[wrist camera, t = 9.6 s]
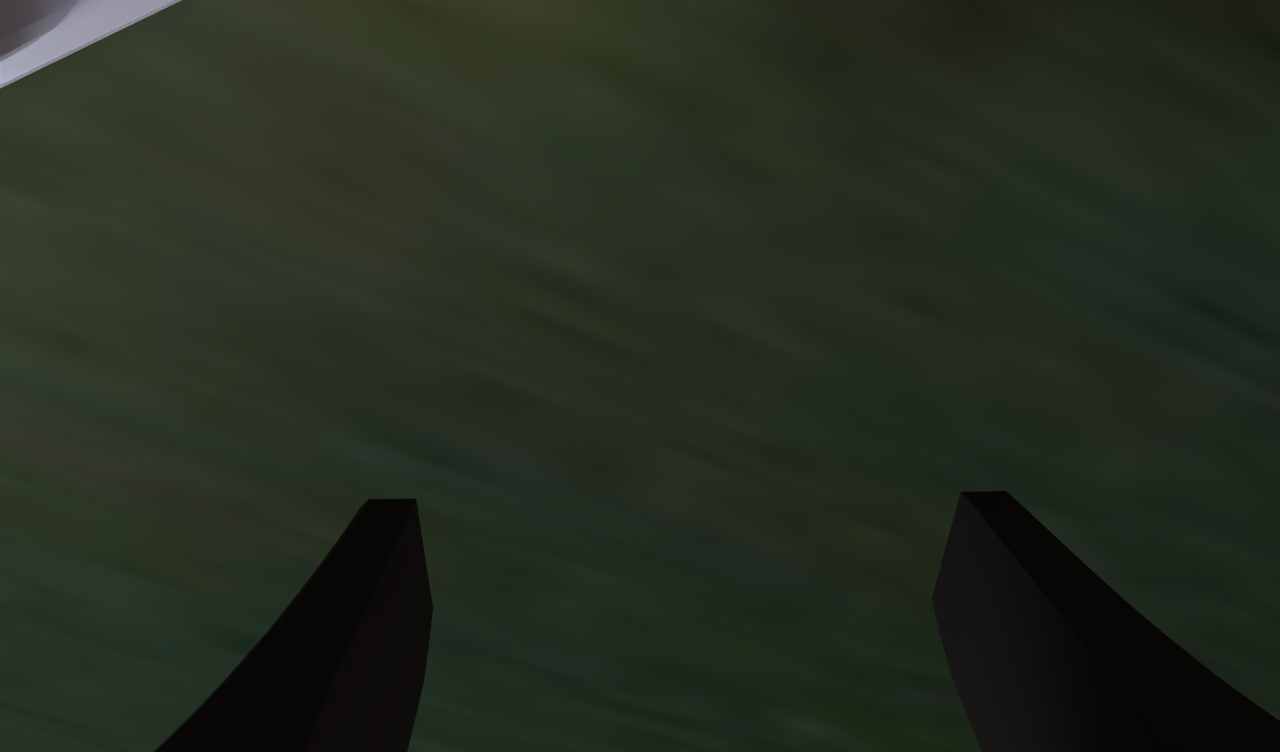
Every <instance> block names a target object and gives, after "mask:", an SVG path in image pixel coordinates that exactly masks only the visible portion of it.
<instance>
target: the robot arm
mask: <svg viewBox="0 0 1280 752" xmlns="http://www.w3.org/2000/svg"><path fill="white" fill-rule="evenodd" d="M179 1H181V0H0V88H2V87H4V86H6V85H8V84H10V83H12V82H14V81H16V80H19V79H21V78H23V77H25V76H27V75H29V74H31V73H33V72H35V71H37V70H39V69H41V68H43V67H45V66H47V65H49V64H51V63H54V62H56V61H58V60H60V59H62V58H64V57H66V56H68V55H70V54H72V53H74V52H76V51H78V50H80V49H82V48H84V47H86V46H88V45H91V44H93V43H95V42H97V41H99V40H101V39H103V38H105V37H107V36H109V35H111V34H113V33H115V32H117V31H119V30H121V29H123V28H126V27H128V26H130V25H132V24H134V23H136V22H138V21H140V20H142V19H144V18H146V17H148V16H150V15H152V14H154V13H156V12H158V11H161V10H163V9H165V8H167V7H169V6H171V5H173V4H175V3H177V2H179ZM932 602H933V606H934V611H935V615H936V619H937V623H938V627H939V631H940V635H941V639H942V643H943V647H944V650H945V654H946V658H947V661H948V665H949V669H950V672H951V674H952V677H953V679H954V682H955V685H956V687H957V690H958V692H959V695H960V697H961V700H962V703H963V705H964V708H965V710H966V713H967V715H968V718H969V720H970V723H971V725H972V728H973V730H974V733H975V735H976V738H977V740H978V743H979V745H980V748H981V750H982V752H1280V721H1279V720H1277V719H1276V718H1275V717H1273V716H1272V715H1270V714H1269V713H1268V712H1266V711H1265V710H1263V709H1262V708H1260V707H1259V706H1258V705H1256V704H1255V703H1253V702H1252V701H1251V700H1249V699H1248V698H1246V697H1245V696H1244V695H1242V694H1241V693H1239V692H1238V691H1237V690H1235V689H1234V688H1232V687H1231V686H1230V685H1228V684H1227V683H1226V682H1225V681H1223V680H1222V679H1221V678H1219V677H1218V676H1217V675H1215V674H1214V673H1213V672H1211V671H1210V670H1209V669H1207V668H1206V667H1205V666H1204V665H1202V664H1201V663H1200V662H1199V661H1197V660H1196V659H1195V658H1194V657H1192V656H1191V655H1190V654H1189V653H1187V652H1186V651H1185V650H1184V649H1182V648H1181V647H1180V646H1179V645H1178V644H1176V643H1175V642H1174V641H1173V640H1171V639H1170V638H1169V637H1168V636H1166V635H1165V634H1164V633H1163V632H1161V631H1160V630H1159V629H1158V628H1157V627H1156V626H1154V625H1153V624H1152V623H1151V622H1150V621H1148V620H1147V619H1146V618H1145V617H1144V616H1143V615H1141V614H1140V613H1139V612H1138V611H1137V610H1136V609H1134V608H1133V607H1132V606H1131V605H1130V604H1129V603H1128V602H1126V601H1125V600H1124V599H1123V598H1122V597H1121V596H1120V595H1118V594H1117V593H1116V592H1115V591H1114V590H1113V589H1112V588H1111V587H1110V586H1108V585H1107V584H1106V583H1105V582H1104V581H1103V580H1102V579H1101V578H1100V577H1098V576H1097V575H1096V574H1095V573H1094V572H1093V571H1092V570H1091V569H1090V568H1089V567H1087V566H1086V565H1085V564H1084V563H1083V562H1082V561H1081V560H1080V559H1079V558H1078V557H1077V556H1076V555H1075V554H1073V553H1072V552H1071V551H1070V550H1069V549H1068V548H1067V547H1066V546H1065V545H1064V544H1063V543H1062V542H1061V541H1059V540H1058V539H1057V538H1056V537H1055V536H1054V535H1053V534H1052V533H1051V532H1050V531H1049V530H1048V529H1047V528H1046V527H1045V526H1043V525H1042V524H1041V523H1040V522H1039V521H1038V520H1037V519H1036V518H1035V517H1034V516H1033V515H1032V514H1031V513H1030V512H1028V511H1027V510H1026V509H1025V508H1024V507H1023V506H1022V505H1021V504H1020V503H1019V502H1018V501H1016V500H1015V499H1014V498H1013V497H1012V496H1011V495H1010V494H1009V493H1007V492H1006V491H990V492H961V493H960V497H959V501H958V504H957V508H956V512H955V515H954V519H953V523H952V527H951V530H950V534H949V538H948V541H947V545H946V549H945V552H944V556H943V560H942V563H941V567H940V571H939V575H938V578H937V582H936V586H935V589H934V593H933V597H932ZM432 612H433V605H432V599H431V592H430V586H429V579H428V573H427V566H426V560H425V554H424V547H423V541H422V534H421V528H420V521H419V515H418V509H417V502H416V499H369V500H368V501H367V502H366V503H364V504H363V505H362V506H361V508H360V509H359V511H358V512H357V513H356V515H355V516H354V518H353V519H352V521H351V522H350V524H349V525H348V527H347V528H346V529H345V531H344V532H343V534H342V535H341V537H340V538H339V539H338V541H337V542H336V544H335V545H334V546H333V548H332V549H331V551H330V552H329V553H328V555H327V556H326V557H325V559H324V560H323V561H322V563H321V564H320V565H319V567H318V568H317V569H316V571H315V572H314V574H313V575H312V576H311V578H310V579H309V580H308V581H307V583H306V584H305V585H304V586H303V588H302V589H301V590H300V592H299V593H298V594H297V595H296V597H295V598H294V599H293V600H292V602H291V603H290V604H289V605H288V607H287V608H286V609H285V611H284V612H283V613H282V614H281V616H280V617H279V618H278V619H277V621H276V622H275V623H274V624H273V626H272V627H271V628H270V629H269V630H268V632H267V633H266V634H265V635H264V636H263V637H262V638H261V640H260V641H259V642H258V643H257V644H256V645H255V646H254V648H253V649H252V650H251V651H250V652H249V653H248V654H247V656H246V657H245V658H244V659H243V660H242V661H241V662H240V664H239V665H238V666H237V667H236V668H235V669H234V670H233V672H232V673H231V674H230V675H229V676H228V677H227V678H226V679H225V681H224V682H223V683H222V684H221V685H220V686H219V687H218V688H217V689H216V690H215V691H214V692H213V693H212V694H211V695H210V697H209V698H208V699H207V700H206V701H205V702H204V703H203V704H202V705H201V706H200V707H199V708H198V709H197V710H196V711H195V712H194V713H193V714H192V715H191V716H190V717H189V718H188V719H187V720H186V721H185V722H184V723H183V724H182V725H181V726H180V727H179V728H178V729H177V730H176V731H175V732H174V733H173V734H172V735H171V736H170V737H169V738H168V739H167V740H166V741H165V742H164V743H163V744H162V745H161V746H160V747H158V748H157V749H156V750H155V751H154V752H407V750H408V746H409V742H410V738H411V733H412V729H413V725H414V721H415V717H416V713H417V709H418V704H419V700H420V696H421V692H422V687H423V683H424V677H425V670H426V662H427V654H428V647H429V638H430V629H431V621H432Z"/></svg>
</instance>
